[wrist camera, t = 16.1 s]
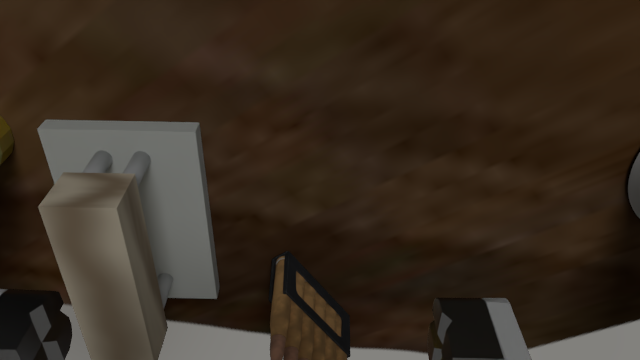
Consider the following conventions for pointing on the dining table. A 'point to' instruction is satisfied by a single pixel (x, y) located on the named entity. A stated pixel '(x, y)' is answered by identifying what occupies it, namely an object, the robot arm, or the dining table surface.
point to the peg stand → (150, 190)
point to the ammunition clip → (304, 316)
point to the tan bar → (106, 263)
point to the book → (5, 140)
